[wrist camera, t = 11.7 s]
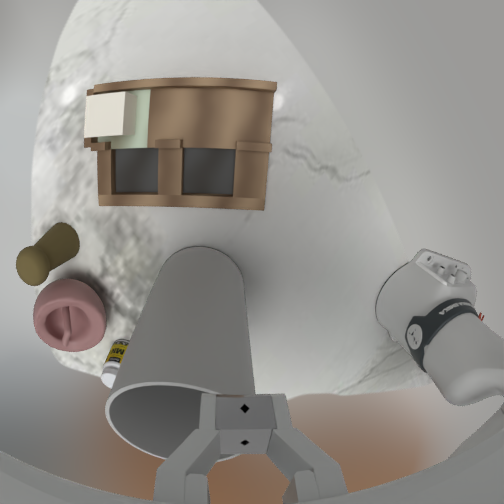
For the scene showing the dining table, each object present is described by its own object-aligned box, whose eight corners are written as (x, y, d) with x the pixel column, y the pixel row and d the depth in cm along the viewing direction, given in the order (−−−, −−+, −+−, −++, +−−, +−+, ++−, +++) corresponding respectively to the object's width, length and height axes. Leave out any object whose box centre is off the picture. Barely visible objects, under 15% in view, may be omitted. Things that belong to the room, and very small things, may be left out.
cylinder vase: (243, 244, 41) (262, 381, 18) (243, 318, 45) (257, 462, 22) (154, 245, 40) (83, 373, 17) (165, 319, 44) (130, 457, 21)
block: (137, 96, 30) (125, 91, 26) (134, 134, 32) (122, 134, 28) (101, 99, 30) (86, 96, 25) (99, 136, 31) (84, 137, 27)
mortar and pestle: (106, 338, 45) (85, 383, 35) (51, 307, 42) (20, 345, 32) (124, 287, 42) (98, 331, 31) (62, 252, 39) (23, 286, 28)
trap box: (272, 87, 33) (277, 82, 29) (262, 206, 39) (265, 214, 35) (100, 89, 31) (87, 86, 27) (98, 202, 37) (86, 209, 33)
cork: (82, 259, 40) (48, 295, 29) (52, 258, 39) (16, 290, 29) (77, 222, 37) (37, 250, 27) (46, 222, 37) (5, 248, 27)
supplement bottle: (128, 336, 45) (115, 369, 38) (142, 355, 47) (132, 389, 39) (108, 341, 46) (93, 373, 38) (122, 360, 47) (110, 393, 40)
